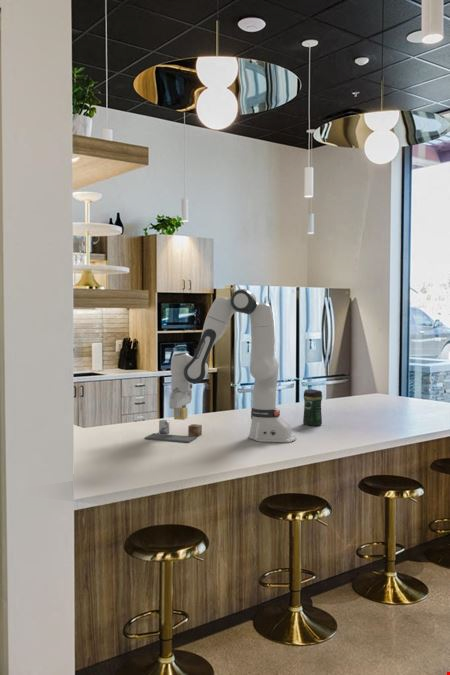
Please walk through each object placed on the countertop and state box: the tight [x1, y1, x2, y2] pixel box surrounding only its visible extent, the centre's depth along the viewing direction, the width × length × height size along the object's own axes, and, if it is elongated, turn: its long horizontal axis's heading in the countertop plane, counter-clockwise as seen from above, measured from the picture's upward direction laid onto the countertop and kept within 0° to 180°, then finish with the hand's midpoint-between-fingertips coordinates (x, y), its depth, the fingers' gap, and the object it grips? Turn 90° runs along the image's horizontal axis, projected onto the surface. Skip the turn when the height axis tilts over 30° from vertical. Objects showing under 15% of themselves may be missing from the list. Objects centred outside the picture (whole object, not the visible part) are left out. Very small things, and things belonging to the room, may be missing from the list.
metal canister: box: [158, 419, 170, 435], centre depth 314 cm, size 5×5×6 cm
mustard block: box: [173, 407, 188, 420], centre depth 311 cm, size 5×5×5 cm
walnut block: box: [187, 423, 203, 438], centre depth 310 cm, size 5×5×5 cm
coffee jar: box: [302, 389, 323, 427], centre depth 340 cm, size 10×8×19 cm
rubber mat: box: [144, 432, 198, 444], centre depth 302 cm, size 22×10×1 cm, turn 72°
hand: (180, 415), depth 311 cm, fingers closed on mustard block, 5 cm apart
